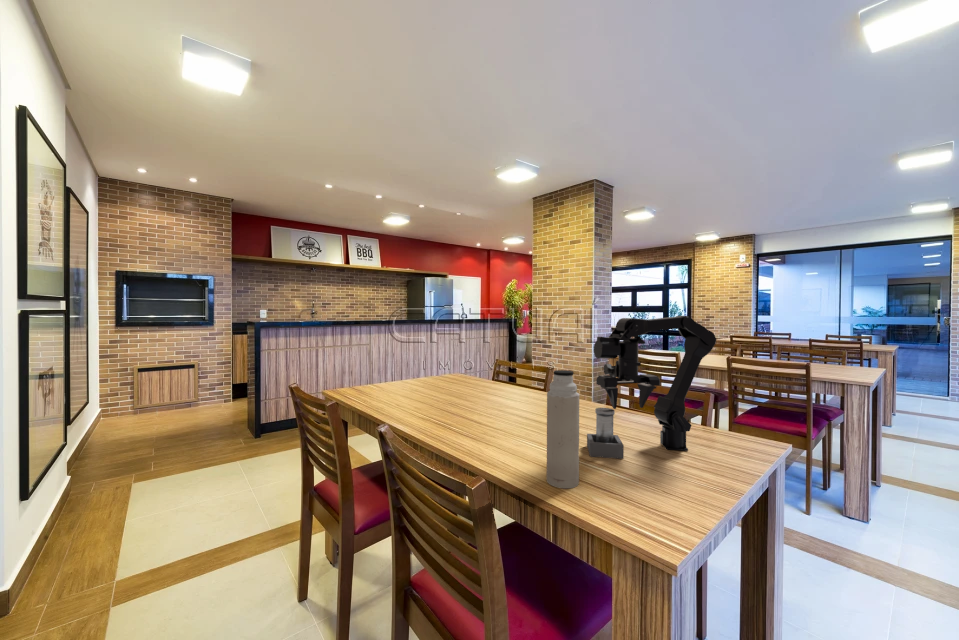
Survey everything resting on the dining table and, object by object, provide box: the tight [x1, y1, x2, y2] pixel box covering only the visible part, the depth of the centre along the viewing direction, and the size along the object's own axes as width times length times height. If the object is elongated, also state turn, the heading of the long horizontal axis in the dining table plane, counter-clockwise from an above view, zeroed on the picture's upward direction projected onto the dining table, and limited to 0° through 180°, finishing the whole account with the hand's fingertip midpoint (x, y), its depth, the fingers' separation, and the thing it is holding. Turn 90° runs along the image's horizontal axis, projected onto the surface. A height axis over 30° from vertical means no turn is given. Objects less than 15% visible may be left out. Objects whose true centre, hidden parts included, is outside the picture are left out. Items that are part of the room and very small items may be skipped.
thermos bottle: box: [546, 369, 580, 489], centre depth 96 cm, size 8×8×28 cm
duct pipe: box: [594, 407, 616, 443], centre depth 117 cm, size 6×6×13 cm
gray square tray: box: [586, 433, 625, 460], centre depth 117 cm, size 9×9×4 cm
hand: (627, 408), depth 119 cm, fingers open, 9 cm apart
